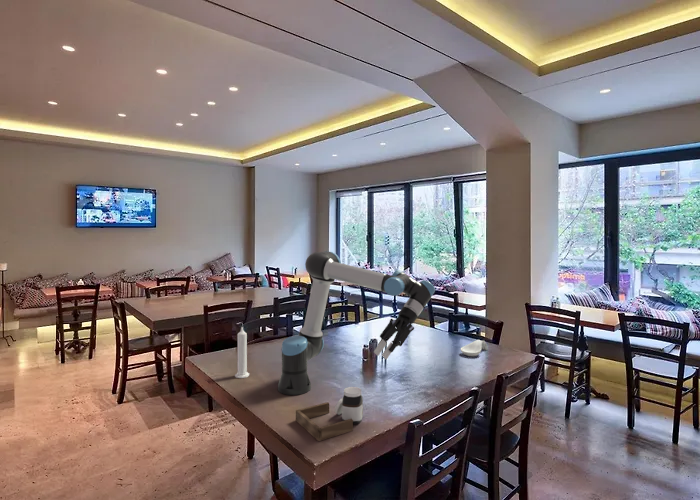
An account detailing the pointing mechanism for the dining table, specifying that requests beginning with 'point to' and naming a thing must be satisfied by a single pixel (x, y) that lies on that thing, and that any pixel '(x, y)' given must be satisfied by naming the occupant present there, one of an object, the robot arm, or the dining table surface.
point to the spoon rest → (474, 348)
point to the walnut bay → (325, 431)
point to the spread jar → (351, 405)
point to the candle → (242, 355)
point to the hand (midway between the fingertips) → (379, 355)
